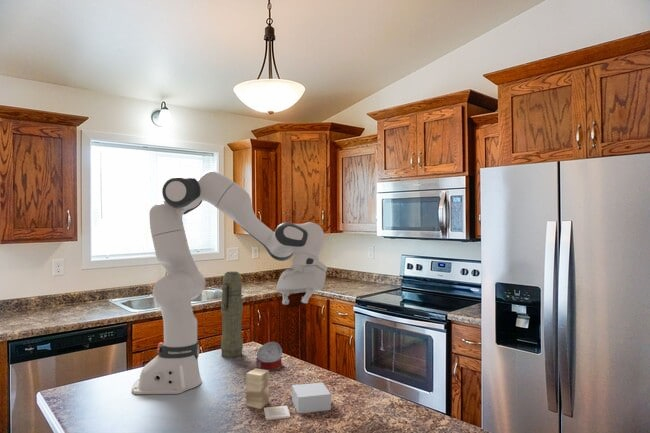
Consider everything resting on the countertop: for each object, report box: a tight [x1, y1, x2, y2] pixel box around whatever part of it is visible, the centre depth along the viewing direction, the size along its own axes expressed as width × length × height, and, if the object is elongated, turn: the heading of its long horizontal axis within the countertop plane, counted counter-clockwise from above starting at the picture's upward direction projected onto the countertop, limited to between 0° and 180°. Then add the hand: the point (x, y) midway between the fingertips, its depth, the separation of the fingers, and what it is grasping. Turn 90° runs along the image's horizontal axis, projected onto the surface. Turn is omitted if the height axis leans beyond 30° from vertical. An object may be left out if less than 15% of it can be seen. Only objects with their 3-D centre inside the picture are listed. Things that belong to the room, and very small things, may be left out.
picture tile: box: [263, 405, 291, 421], centre depth 130 cm, size 7×7×1 cm
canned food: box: [255, 341, 283, 371], centre depth 173 cm, size 11×10×10 cm
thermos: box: [220, 271, 244, 359], centre depth 187 cm, size 9×12×35 cm
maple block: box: [245, 367, 270, 410], centre depth 137 cm, size 5×5×10 cm
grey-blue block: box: [291, 382, 332, 414], centre depth 136 cm, size 10×10×5 cm
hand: (294, 303), depth 148 cm, fingers open, 8 cm apart
